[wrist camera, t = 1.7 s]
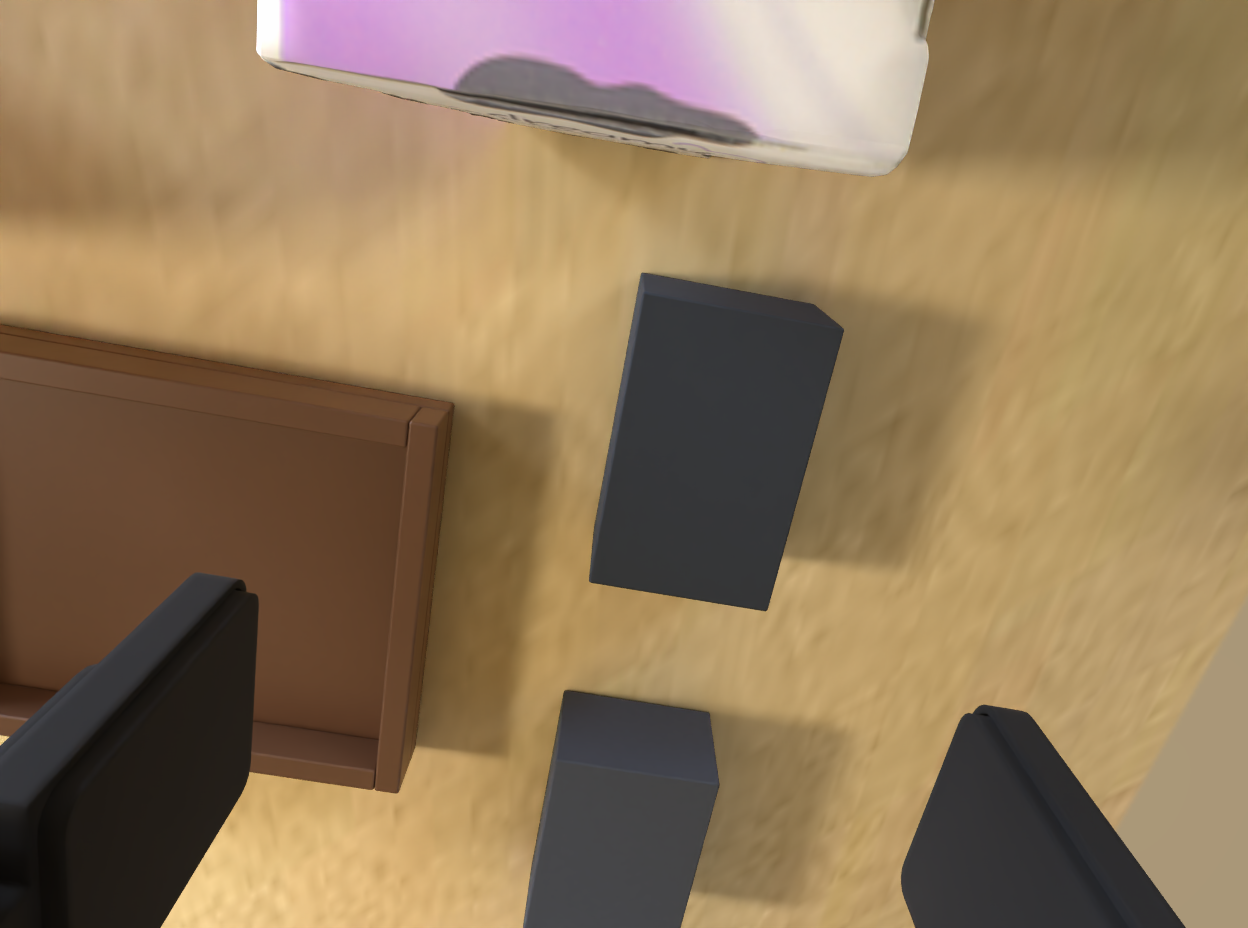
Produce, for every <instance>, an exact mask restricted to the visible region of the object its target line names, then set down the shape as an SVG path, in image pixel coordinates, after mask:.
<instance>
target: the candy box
mask: <svg viewBox="0 0 1248 928" xmlns="http://www.w3.org/2000/svg"><path fill="white" fill-rule="evenodd" d="M934 1H935V0H258V12H257V52H258V54H259V55H260V56H261V58H262V59H263V60H264V61H266V62H267V63H269V64H270V65H272V66H273V67H275V68H277V69H281V70H285V71H289V72H293V73H297V74H301V75H305V76H309V77H313V78H317V79H321V80H326V81H331V82H336V83H342V84H347V85H352V86H357V87H361V88H366V89H370V90H375V91H380V92H382V93H384V94H388V95H391V96H394V97H398V98H401V99H407V100H411V101H416V102H420V103H425V104H430V105H435V106H440V107H445V108H451V109H455V110H459V111H464V112H467V113H470V114H472V115H478V116H483V117H488V118H491V119H497V120H499V121H504V122H508V123H513V124H518V125H524V126H529V127H534V128H539V129H543V130H548V131H554V132H559V133H564V134H569V135H574V136H580V137H588V138H594V139H600V140H606V141H612V142H618V143H623V144H628V145H633V146H638V147H644V148H647V149H654V150H660V151H665V152H671V153H676V154H682V155H689V156H695V157H702V158H710V157H711V156H718V157H724V158H730V159H736V160H743V161H750V162H757V163H765V164H773V165H781V166H789V167H797V168H804V169H812V170H820V171H828V172H836V173H843V174H851V175H859V176H871V177H874V176H881V175H887V174H888V173H890V172H891V171H892V170H893V169H895V168H896V167H897V166H898V165H899V163H900V162H901V161H902V159H903V158H904V157H905V155H906V154H907V152H908V149H909V145H910V141H911V136H912V132H913V128H914V124H915V120H916V116H917V111H918V107H919V103H920V98H921V93H922V89H923V84H924V79H925V75H926V70H927V65H928V60H929V53H928V44H927V42H926V36H927V31H928V27H929V22H930V18H931V14H932V10H933V5H934Z"/></svg>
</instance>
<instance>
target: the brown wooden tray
mask: <svg viewBox="0 0 1248 928" xmlns="http://www.w3.org/2000/svg"><path fill="white" fill-rule="evenodd" d="M453 412H454V404H453V403H449V402H444V401H438V400H432V399H426V398H421V397H415V396H409V395H403V394H398V393H392V392H386V391H380V390H375V389H369V388H363V387H357V386H351V385H346V384H340V383H334V382H328V381H323V380H317V379H311V378H305V377H300V376H294V375H288V374H282V373H277V372H271V371H265V370H259V369H254V368H248V367H242V366H236V365H231V364H225V363H219V362H213V361H208V360H202V359H196V358H190V357H185V356H179V355H173V354H167V353H162V352H156V351H150V350H144V349H139V348H133V347H127V346H121V345H116V344H110V343H104V342H98V341H93V340H87V339H81V338H75V337H70V336H64V335H58V334H52V333H47V332H41V331H35V330H29V329H24V328H18V327H12V326H6V325H0V735H3V736H11V735H12V734H13V733H14V732H16V731H17V730H18V729H19V728H20V727H21V726H22V725H23V724H24V723H25V722H26V721H27V720H28V719H29V718H30V717H32V716H33V715H34V714H35V713H36V712H37V711H38V710H39V709H40V708H41V707H42V706H43V705H44V704H45V703H46V702H48V701H49V700H50V699H51V698H52V697H53V696H54V695H55V694H56V693H57V692H58V691H59V690H60V689H61V688H63V687H64V686H65V685H66V684H67V683H68V682H69V681H70V680H71V679H72V678H73V677H74V676H75V675H76V674H77V673H79V672H80V671H82V670H83V669H84V668H86V667H87V666H90V665H95V664H98V663H99V662H100V661H101V660H103V659H104V658H105V657H106V656H107V655H108V654H109V653H110V652H111V651H112V650H113V649H114V648H115V647H116V646H117V645H118V644H119V643H120V642H121V641H122V640H124V639H125V638H126V637H127V636H128V635H129V634H130V633H131V632H132V631H133V630H134V629H135V628H136V627H137V626H138V625H139V624H140V623H141V622H142V621H143V620H144V619H146V618H147V617H148V616H149V615H150V614H151V613H152V612H153V611H154V610H155V609H156V608H157V607H158V606H159V605H160V604H161V603H162V602H163V601H164V600H165V599H166V598H168V597H169V596H170V595H171V594H172V593H173V592H174V591H175V590H176V589H177V588H178V587H179V586H180V585H181V584H182V583H183V582H184V581H185V580H186V579H187V578H188V577H190V576H191V575H192V574H194V573H197V572H200V573H206V574H212V575H218V576H224V577H230V578H236V579H241V580H243V581H244V582H245V585H246V589H247V592H249V593H255V594H256V595H257V596H258V599H259V614H258V634H257V654H256V673H255V693H254V712H253V732H252V751H251V766H250V771H249V772H253V773H260V774H267V775H274V776H281V777H287V778H294V779H301V780H308V781H314V782H321V783H328V784H335V785H342V786H348V787H355V788H362V789H369V790H373V789H374V787H375V790H376V791H383V792H390V793H398V792H399V790H400V788H401V785H402V782H403V779H404V777H405V774H406V771H407V768H408V766H409V762H410V760H411V758H412V755H413V752H414V749H415V745H416V736H417V728H418V719H419V710H420V701H421V693H422V684H423V675H424V666H425V658H426V649H427V640H428V631H429V623H430V614H431V605H432V596H433V588H434V579H435V570H436V561H437V553H438V544H439V535H440V526H441V518H442V509H443V500H444V491H445V482H446V474H447V465H448V456H449V447H450V439H451V430H452V421H453Z"/></svg>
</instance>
